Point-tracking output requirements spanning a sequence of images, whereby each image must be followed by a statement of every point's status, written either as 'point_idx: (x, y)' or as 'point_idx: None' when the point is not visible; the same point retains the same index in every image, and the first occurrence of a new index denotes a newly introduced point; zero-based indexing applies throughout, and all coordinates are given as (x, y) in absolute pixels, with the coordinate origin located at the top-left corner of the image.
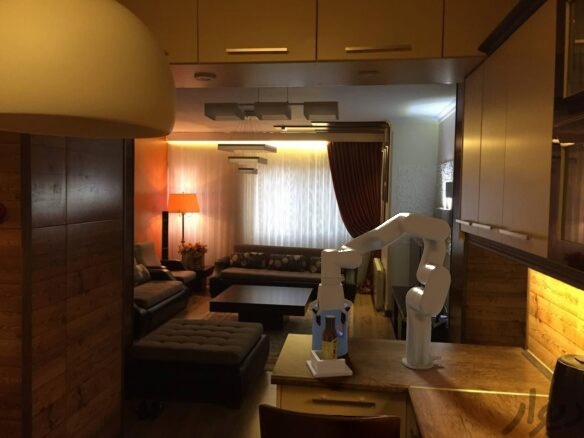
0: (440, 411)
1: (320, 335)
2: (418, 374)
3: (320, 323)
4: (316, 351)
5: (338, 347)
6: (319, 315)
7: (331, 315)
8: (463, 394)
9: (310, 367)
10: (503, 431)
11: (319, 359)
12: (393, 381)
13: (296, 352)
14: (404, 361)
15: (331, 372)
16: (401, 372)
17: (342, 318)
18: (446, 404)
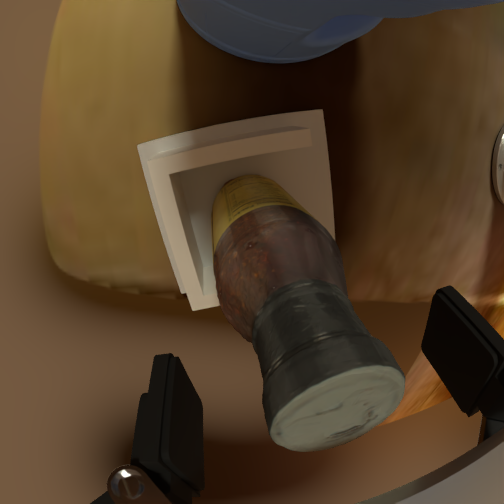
0: (425, 381)
1: (216, 12)
2: (491, 231)
3: (200, 421)
4: (181, 170)
5: (325, 50)
6: (188, 492)
7: (373, 387)
8: (492, 316)
9: (161, 227)
10: (451, 396)
11: (200, 290)
12: (427, 283)
13: (99, 14)
14: (500, 162)
15: None
16: (469, 220)
17: (449, 375)
18: None
